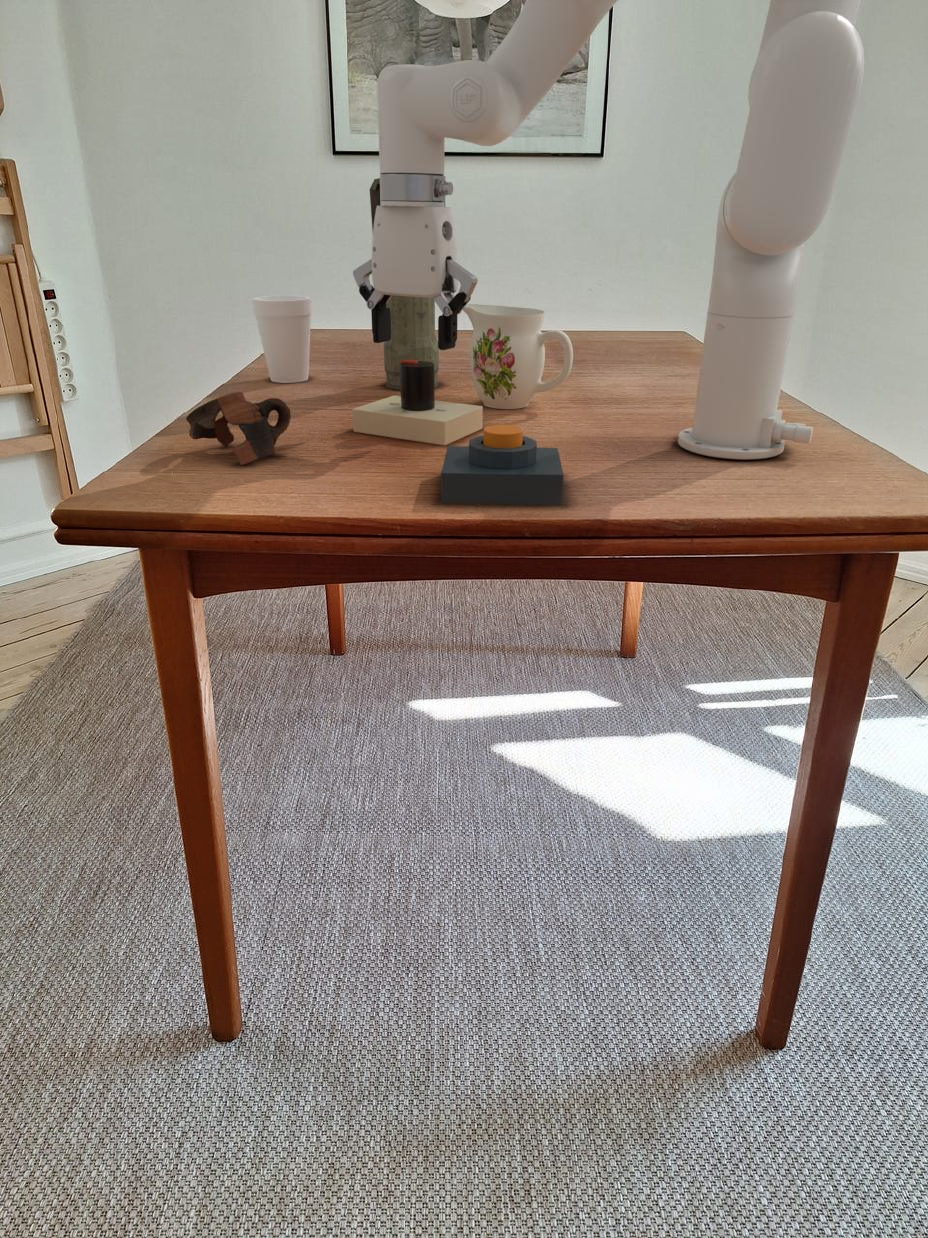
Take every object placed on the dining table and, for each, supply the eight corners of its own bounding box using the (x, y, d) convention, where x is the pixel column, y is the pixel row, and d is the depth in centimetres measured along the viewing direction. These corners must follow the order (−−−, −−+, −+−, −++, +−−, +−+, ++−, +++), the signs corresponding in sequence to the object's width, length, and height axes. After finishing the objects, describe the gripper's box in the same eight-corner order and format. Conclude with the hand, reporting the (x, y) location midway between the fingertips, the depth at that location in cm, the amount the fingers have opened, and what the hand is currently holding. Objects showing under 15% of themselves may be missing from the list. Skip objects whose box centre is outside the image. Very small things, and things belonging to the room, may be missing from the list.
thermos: (387, 378, 140) (378, 143, 124) (453, 382, 137) (452, 142, 121) (368, 388, 132) (356, 139, 116) (438, 392, 129) (435, 138, 113)
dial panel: (482, 428, 109) (482, 404, 107) (444, 445, 101) (444, 420, 99) (395, 416, 115) (394, 393, 113) (353, 431, 107) (351, 407, 105)
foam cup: (311, 384, 135) (304, 301, 129) (255, 384, 135) (246, 300, 129) (321, 374, 143) (315, 295, 137) (268, 373, 143) (260, 295, 137)
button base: (556, 476, 90) (558, 431, 87) (561, 505, 81) (564, 456, 78) (447, 474, 90) (447, 429, 88) (441, 503, 81) (441, 454, 79)
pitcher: (556, 418, 114) (562, 314, 107) (441, 406, 120) (441, 307, 114) (580, 403, 123) (587, 306, 116) (472, 392, 129) (473, 300, 123)
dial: (440, 405, 107) (440, 360, 104) (423, 412, 104) (422, 365, 101) (412, 402, 109) (411, 357, 106) (394, 408, 106) (392, 362, 103)
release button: (521, 441, 85) (522, 424, 84) (522, 451, 81) (523, 434, 81) (483, 440, 85) (483, 424, 84) (482, 451, 82) (483, 433, 81)
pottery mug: (220, 476, 91) (183, 408, 89) (209, 490, 99) (175, 428, 98) (313, 433, 95) (279, 368, 94) (295, 451, 104) (263, 391, 102)
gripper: (492, 194, 94) (488, 347, 102) (370, 192, 102) (374, 335, 109) (460, 192, 88) (458, 355, 96) (333, 191, 96) (341, 342, 104)
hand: (413, 344), depth 103 cm, fingers open, 9 cm apart
